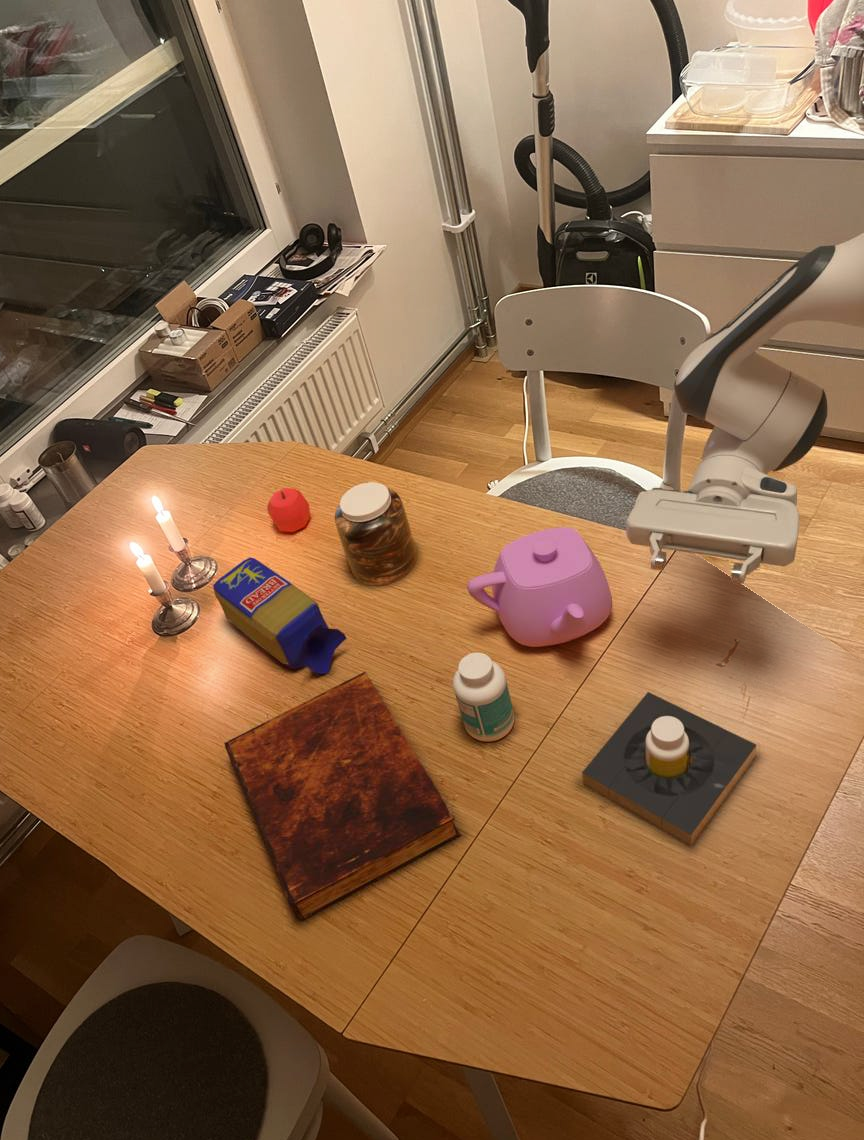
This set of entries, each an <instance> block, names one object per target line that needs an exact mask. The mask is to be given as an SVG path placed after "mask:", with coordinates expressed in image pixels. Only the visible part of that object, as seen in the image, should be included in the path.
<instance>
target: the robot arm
mask: <svg viewBox="0 0 864 1140" xmlns="http://www.w3.org/2000/svg"><path fill="white" fill-rule="evenodd" d="M804 321H805V322H808V321H809V322H810V321H811V322H813V321H814V322H815V321H816V322H827V323H828V322H829V323H836V324H841V325H847V326H851V327H857V328H861V329H864V232H863V233H861V234H859V235H856V237H854V238H852V239H848V240H847V241H844V242H842V243H838V244H832V245H820V246H817V247H816V248H814V249H813V250H811V251H810V252H808V253H806V254H805V255H804V256H802V257H801V258H800V259H799V260H797V261H796V262H795V263H794V264H793V265H792V266H790V267H789V268H788V269H786V270H785V271H784V272H783V273H782V274H781V275H780V276H779V277H777V279H775V280H774V281H773V282H772V283H771V284H769V285H768V286H767V287H766V288H765V289H764V290H763V291H762V292H761V293H760V294H759V295H757V296H756V297H755V298H754V299H753V300H752V301H751V302H749V304H748V305H747V306H745V307H744V308H743V309H742V310H741V311H739V313H738V314H737V315H735V316H734V317H733V318H732V319H731V320H730V321H728V322H727V323H726V324H725V325H724V326H723V327H722V328H721V329H719V330H718V331H716V332H714V333H713V334H711V335H710V336H709V337H707V338H706V339H705V340H704V341H703V342H702V343H701V344H700V345H698V346H697V347H696V348H694V350H692V351H691V353H690V354H689V355H688V356H687V357H686V358H685V360H684V361H683V363H682V365H681V367H680V368H679V370H678V373H677V375H676V378H675V380H674V382H673V383H674V384H673V388H674V392H675V397H676V399H677V402H678V404H679V407H680V409H681V411H682V413H684V414H687V415H690V416H692V417H693V418H696V419H698V420H700V421H703V422H705V421H706V422H708V423H710V424H711V425H713V428H712V430H711V432H710V434H709V436H708V438H707V439H706V442H705V444H704V447H703V450H702V453H701V461H700V463H698V465H697V466H696V467H695V468H696V469H695V470H694V473H693V476H692V478H691V480H690V482H689V486H688V487H687V490H679V489H666V488H664V487H663V488H662V487H652V488H651V489H648V490H647V489H646V490H644V491H640V492H639V493H638V495H637V497H636V499H635V502H634V505H633V507H632V508H631V511H630V513H629V515H628V516H627V519H626V523H625V532H626V539H627V540H628V541H629V543H630V544H632V545H637V546H643V547H649V553H650V555H651V558H650V569H651V570H656V571H661V572H662V571H664V570H665V567H666V564H667V552H666V551H662V550H669V551H670V550H671V551H677V552H682V553H690V554H697V555H703V556H709V557H715V558H716V557H717V558H723V559H729V560H737V561H743V562H734V563H733V568H732V570H731V572H730V573H731V574H730V577H731V578H730V582H731V583H736V584H741V585H742V584H743V585H744V584H745V582H746V578H747V575H748V576H749V575H750V574H752V573H753V572H754V571H756V570H757V569H759V568H760V566H761V564H764V565H770V566H776V567H777V566H778V567H787V566H789V565H791V564H792V563H794V562H795V558H796V551H797V547H798V542H799V541H798V540H799V531H800V511H799V509H798V507H797V505H798V489H797V486H796V485H795V484H792V483H790V482H787V481H784V480H781V479H778V478H775V477H774V476H773V477H772V476H770V475H768V474H769V473H770V472H775V473H776V472H778V471H781V470H784V469H786V468H788V467H790V466H792V465H794V464H796V463H798V462H799V461H800V460H802V459H803V458H804V457H805V456H806V455H807V454H809V452H810V451H811V450H812V448H813V447H814V445H815V444H816V442H817V441H818V439H819V438H820V435H821V433H822V431H823V429H824V427H825V424H826V421H827V418H828V398H827V394H826V392H825V390H824V388H822V387H820V386H818V385H817V384H815V383H814V382H812V381H811V380H809V379H807V378H805V377H803V376H802V375H799V374H798V373H795V372H794V371H792V370H789V369H787V368H785V367H783V366H782V365H780V364H777V363H775V362H774V361H772V360H770V359H768V358H766V357H765V356H763V355H761V354H759V353H757V352H756V351H757V350H758V349H760V348H762V346H763V345H764V344H765V343H767V342H768V341H769V340H770V339H772V337H774V336H775V335H777V334H778V333H779V332H780V331H781V330H782V329H783V328H786V327H787V326H789V325H791V324H794V323H798V322H804Z"/></svg>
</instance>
